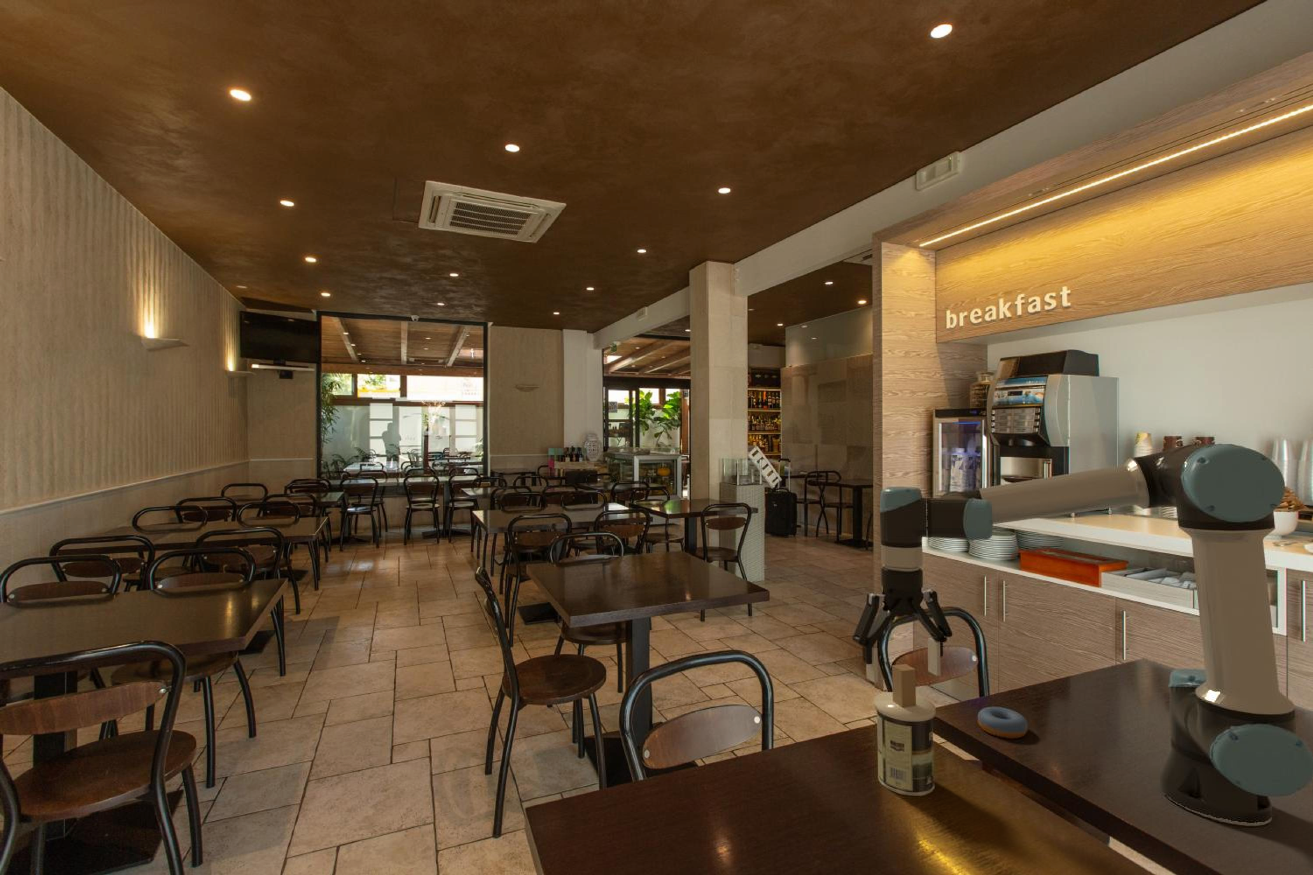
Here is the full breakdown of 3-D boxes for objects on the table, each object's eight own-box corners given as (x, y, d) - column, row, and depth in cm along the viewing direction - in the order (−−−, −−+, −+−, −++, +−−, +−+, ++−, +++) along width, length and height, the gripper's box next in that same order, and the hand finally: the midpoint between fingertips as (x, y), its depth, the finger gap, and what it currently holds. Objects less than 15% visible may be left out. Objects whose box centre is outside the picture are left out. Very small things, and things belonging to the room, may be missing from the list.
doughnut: (1040, 736, 137) (1036, 714, 137) (1003, 744, 134) (1000, 723, 135) (1004, 721, 147) (1001, 701, 147) (969, 729, 144) (966, 708, 144)
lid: (912, 694, 127) (911, 655, 127) (948, 717, 116) (947, 674, 116) (863, 700, 125) (862, 660, 125) (895, 724, 114) (895, 680, 114)
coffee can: (927, 769, 124) (926, 699, 124) (940, 799, 114) (939, 722, 114) (873, 765, 126) (872, 695, 126) (881, 793, 116) (880, 718, 116)
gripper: (945, 559, 127) (946, 663, 127) (833, 566, 122) (835, 675, 121) (971, 566, 119) (973, 677, 119) (853, 574, 114) (855, 690, 114)
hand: (903, 676), depth 120 cm, fingers open, 13 cm apart
